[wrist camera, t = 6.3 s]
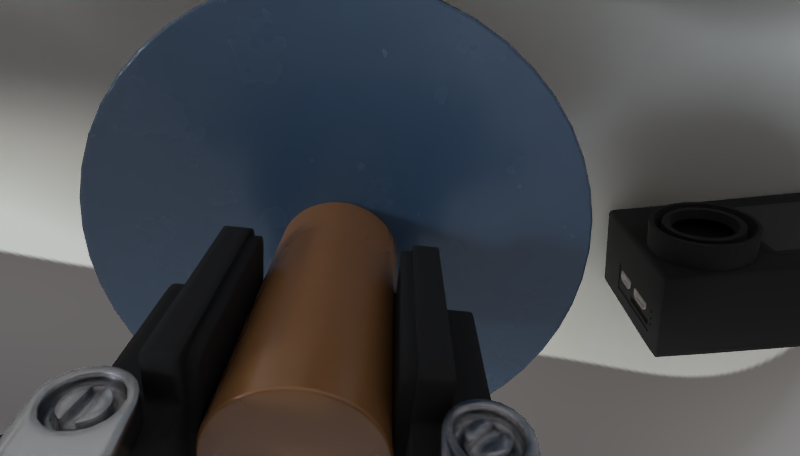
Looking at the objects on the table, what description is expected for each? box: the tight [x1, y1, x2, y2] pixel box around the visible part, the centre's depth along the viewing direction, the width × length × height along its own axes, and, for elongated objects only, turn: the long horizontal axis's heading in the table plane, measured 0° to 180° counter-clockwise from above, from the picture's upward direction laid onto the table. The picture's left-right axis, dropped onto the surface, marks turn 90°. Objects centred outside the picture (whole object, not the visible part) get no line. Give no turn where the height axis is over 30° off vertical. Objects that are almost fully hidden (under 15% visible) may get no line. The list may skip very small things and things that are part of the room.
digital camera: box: [605, 193, 800, 357], centre depth 25 cm, size 10×5×7 cm, turn 96°
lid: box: [80, 0, 592, 456], centre depth 11 cm, size 12×12×7 cm
